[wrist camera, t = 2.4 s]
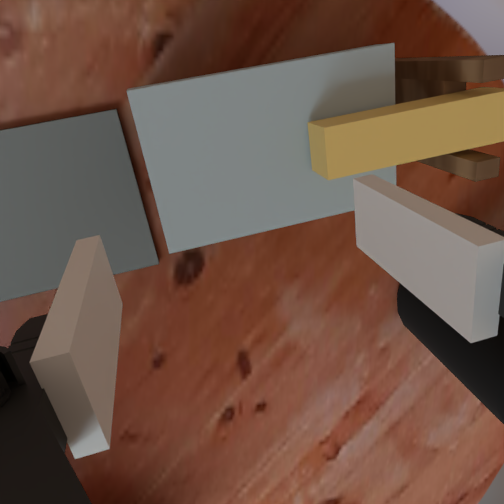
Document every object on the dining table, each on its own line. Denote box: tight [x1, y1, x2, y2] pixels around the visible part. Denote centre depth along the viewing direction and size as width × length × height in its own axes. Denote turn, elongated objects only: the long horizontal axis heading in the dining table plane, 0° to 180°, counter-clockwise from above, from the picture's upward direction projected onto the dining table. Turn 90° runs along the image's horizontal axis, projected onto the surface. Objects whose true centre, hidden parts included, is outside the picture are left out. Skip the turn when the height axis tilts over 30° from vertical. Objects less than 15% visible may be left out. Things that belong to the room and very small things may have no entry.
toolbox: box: [395, 55, 504, 182], centre depth 30 cm, size 21×7×13 cm, turn 99°
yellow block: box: [307, 87, 504, 180], centre depth 26 cm, size 12×3×3 cm, turn 99°
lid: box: [127, 43, 396, 254], centre depth 29 cm, size 16×10×4 cm, turn 99°
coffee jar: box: [397, 283, 504, 424], centre depth 38 cm, size 11×11×18 cm
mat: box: [0, 109, 159, 302], centre depth 34 cm, size 17×13×1 cm
